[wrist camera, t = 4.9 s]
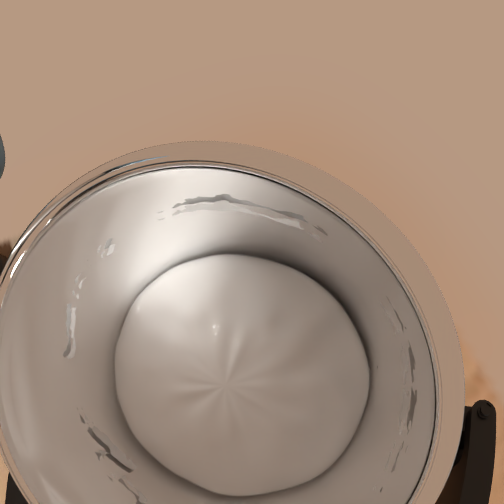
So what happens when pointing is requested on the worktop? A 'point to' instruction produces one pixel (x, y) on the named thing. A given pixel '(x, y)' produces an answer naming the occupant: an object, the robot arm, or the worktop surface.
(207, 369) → the silver metal cup
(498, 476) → the worktop surface
